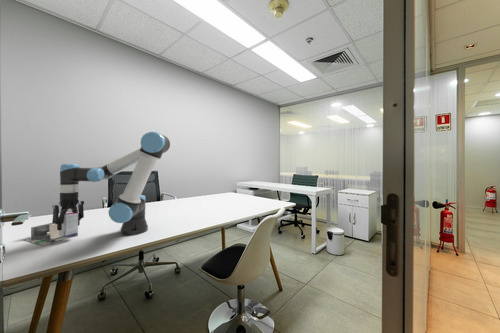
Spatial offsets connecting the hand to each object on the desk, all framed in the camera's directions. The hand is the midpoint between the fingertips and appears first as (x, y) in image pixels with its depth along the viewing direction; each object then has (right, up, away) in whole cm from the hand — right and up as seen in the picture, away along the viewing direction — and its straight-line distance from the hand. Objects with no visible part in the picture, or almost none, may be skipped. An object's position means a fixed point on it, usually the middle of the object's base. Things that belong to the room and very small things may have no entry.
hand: (68, 233), depth 108 cm
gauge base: (-12, -3, +2) cm, 13 cm away
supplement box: (0, -1, 0) cm, 1 cm away
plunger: (-12, -3, +1) cm, 13 cm away
